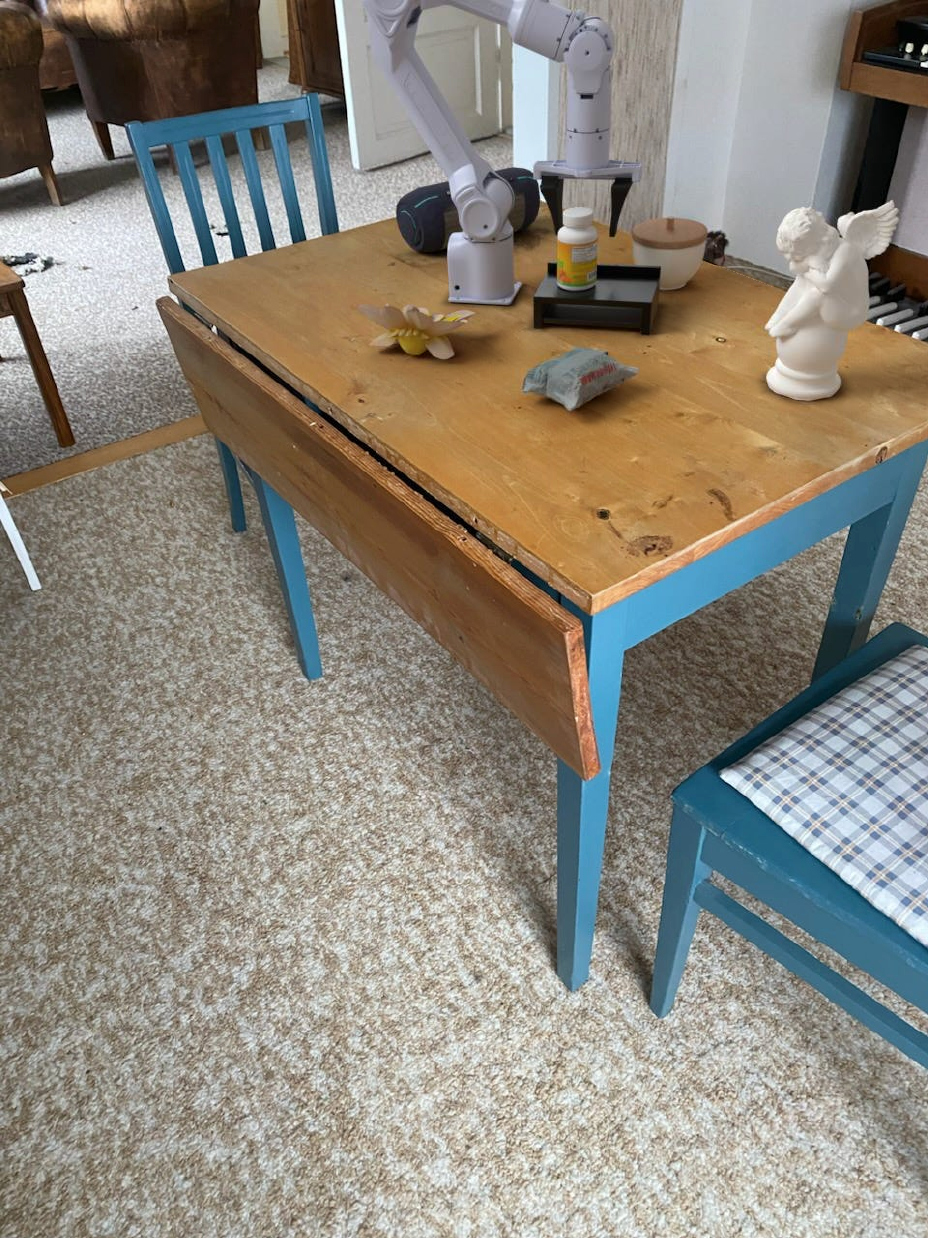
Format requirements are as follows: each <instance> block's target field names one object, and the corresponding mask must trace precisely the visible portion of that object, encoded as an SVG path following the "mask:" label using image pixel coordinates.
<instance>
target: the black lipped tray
mask: <svg viewBox="0 0 928 1238" xmlns="http://www.w3.org/2000/svg"><path fill="white" fill-rule="evenodd" d="M546 267H547V271H546V274H544V277H543V279H542V280H541V282H540V284H539V285H538V288H537V289H536V290H535V293H534V294H533V297H532V301H533V304H532V305H533V306H532V307H533V309H532V312H533V313H532V314H533V319H532V320H533V329H543V327H544V325H545V324H554V325H555V324H556V325H572V326H574V325H575V326H590V327H607V328H608V327H610V328H623V329H624V328H625V329H626V328H627V329H640V335H641V336H642V335H643V336H644V335H646V336H649V335H650V334H651V330H652V329H653V324H654V321H655V318H656V314H657V311H658V308H659V302H660V291H661V290H660V277H661V266H642V265H634V264H616V263H612V264H611V263H597V274H596V283H595V285H594V286H593V287H591V288H589V289H586V290H581V291H570V290H565V289H562V288H561V287H559V286H558V284H557V261H547V266H546Z"/></svg>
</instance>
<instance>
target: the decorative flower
mask: <svg viewBox="0 0 928 1238" xmlns="http://www.w3.org/2000/svg"><path fill="white" fill-rule="evenodd" d="M355 309H356V310H357V311H359V312H360V313H361V314H362V315H364V316H365V317H366V318H368V319H369V320H370V321H372V322H373V323H375V324H376V325H379V326H380V327H382V328H384V329H386V330H388V331H387V332H385V333H382V334H381V335H379V336H378V337H376V338H375V339H374V340H373V341H372V342H370V343H369V344H368V345H369V346H376V347H389V346H393V345H394V344H396V345H397V344H399V345H400V347H401V348H402V350H403V351H404V352H405V353H406V354H409V355H411V356H420V355H422V354H424V353H425V352H426V351H429V353H430V354H432V356H433V357H435V358H437V359H440V360H447V359H450V358H451V357H453V356H454V355H455V351H454V349H453V345H452V344H451V342H450V340H449V338H448V337H447V334H450V333H452V332H454V331H455V330H457V329H458V328H460V327H462V326H463V325H465V324H467V323H468V319H470V318H471V317H472V316H473V315H474V314H475V312H474V311H471V310H467V309H463V310H462V309H461V310H456V311H454V312H451V313H449V314H447V315H445V314H443V313H442V314H431V315H430V311H429V310H428V309H427V307H416V306H415V305H412V304H406V305H405V306H404V307H403V308H402V310H401V309H400V308H398V307H396V306H393V305H391V304H389V303H386V305H384V306H381V307H377V306H375V305H372V304H369V303H368V304H367V303H362V304H360V305H357V306H356V307H355Z"/></svg>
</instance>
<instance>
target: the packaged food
mask: <svg viewBox="0 0 928 1238" xmlns="http://www.w3.org/2000/svg"><path fill="white" fill-rule="evenodd" d="M638 374H639V368H638V367H636V366H630V365H625V364H623V363H621V362H620V361H618V360H617V359H615V358H613V357H611V356H610V354H609V352H608V351H606V350H601V349H595V348H589V347H583V346H575V347H574V348H572V349H570V350H568V351H566V352H564V353H562V354H560V355H558V356H556V357H553V358H550V359H549V360H545V361H543V362H541V363H540V364H538V365H535V366H534V367H533V368H530V369H529V370H528V371H527V373H526V375H525V377H524V379H523V381H522V382H523V385H522V386H521V387H522V390H521V392H523V394H526V395H528V394H529V393H534V395H538V396H541V397H544V398H547V399H549V400H551V401H553V402H556V403H558V404H560V405H561V404H562V405H563V406H564V408H565V409H566V411H568V412H572V411H574V410H576V409H579V408H580V407H582V406H583V405H585V404H586V403H588V402H590V401H592V399H594V398H595V397H596V398H597V397H600V396H602V395H604V394H605V393H606V392H608V391H610V390H611V389H613V388H617V387H619V386H621V385H623V384H624V383H625V382H627V381H628V380H630V379H632V378H634V377H635V376H637V375H638Z"/></svg>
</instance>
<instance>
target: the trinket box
mask: <svg viewBox="0 0 928 1238" xmlns="http://www.w3.org/2000/svg"><path fill="white" fill-rule="evenodd" d="M708 233H709V231H708V228H707V226H706V225H704V223H701V222H699V221H696V220H693V219H690V218H684V217H683V218H682V217H675V216H667V217H657V218H652V219H647V220H643V221H641V222H639V223H638V224H636V225H635V226H634V227H633V228H632V229H631V238H632V240H631V249H632V250H631V253H632V254H631V256H632V261H633V265H642V266H661V277H660V290H659V291H673V290H679V289H681V288H683V287H685V286H686V285H687V283H688V282H689V281H690V280H691V279H692V278H693V277H694V276H695V275H696V274H697V272H698V271H699V269H700V267H701V264H702V262H703V259H704V255H705V250H706V244H707V242H706V241H707V238H708V235H709V234H708Z"/></svg>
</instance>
